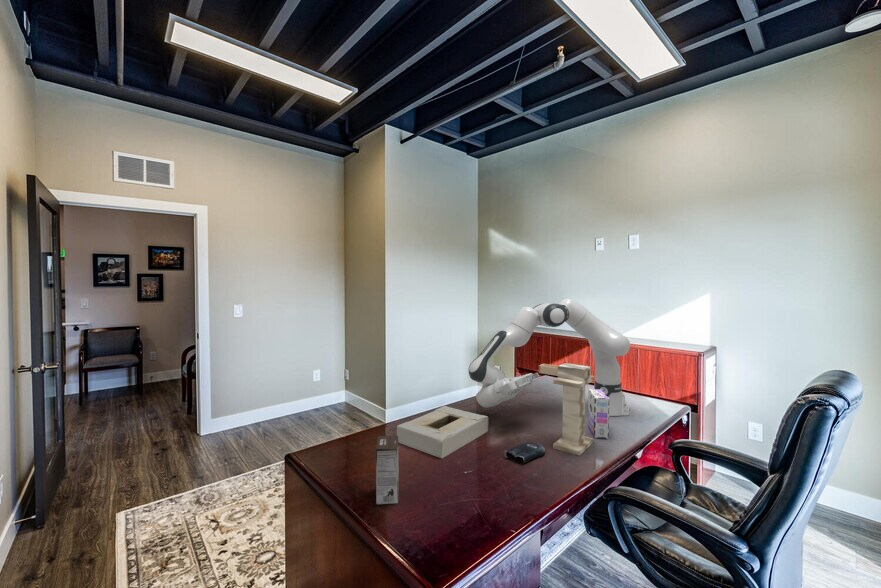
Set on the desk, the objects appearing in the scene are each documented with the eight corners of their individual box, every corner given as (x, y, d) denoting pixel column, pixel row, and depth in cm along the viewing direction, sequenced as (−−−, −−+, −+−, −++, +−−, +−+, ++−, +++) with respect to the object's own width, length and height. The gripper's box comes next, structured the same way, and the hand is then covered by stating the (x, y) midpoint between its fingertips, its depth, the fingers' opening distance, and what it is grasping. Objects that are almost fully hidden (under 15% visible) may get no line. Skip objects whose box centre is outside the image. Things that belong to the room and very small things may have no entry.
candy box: (609, 439, 153) (609, 398, 152) (593, 438, 154) (594, 397, 153) (602, 426, 166) (602, 388, 166) (587, 425, 167) (588, 388, 167)
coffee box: (378, 487, 118) (377, 435, 117) (399, 486, 118) (398, 434, 118) (375, 504, 109) (374, 448, 108) (398, 503, 109) (398, 447, 109)
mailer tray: (542, 370, 157) (542, 363, 157) (588, 377, 145) (588, 370, 145) (537, 372, 154) (537, 365, 154) (584, 380, 142) (584, 372, 142)
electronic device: (526, 471, 131) (550, 452, 141) (523, 455, 131) (547, 437, 141) (505, 465, 138) (529, 447, 148) (502, 450, 138) (526, 433, 148)
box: (443, 461, 136) (489, 432, 162) (442, 439, 136) (488, 413, 161) (395, 445, 151) (444, 420, 176) (395, 425, 150) (444, 404, 176)
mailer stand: (568, 435, 156) (569, 361, 155) (593, 442, 150) (594, 364, 149) (553, 448, 145) (553, 367, 144) (579, 455, 139) (580, 371, 138)
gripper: (490, 386, 159) (516, 374, 151) (515, 377, 175) (539, 365, 167) (497, 401, 157) (523, 389, 149) (521, 390, 173) (546, 379, 165)
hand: (532, 376), depth 158 cm, fingers open, 8 cm apart
